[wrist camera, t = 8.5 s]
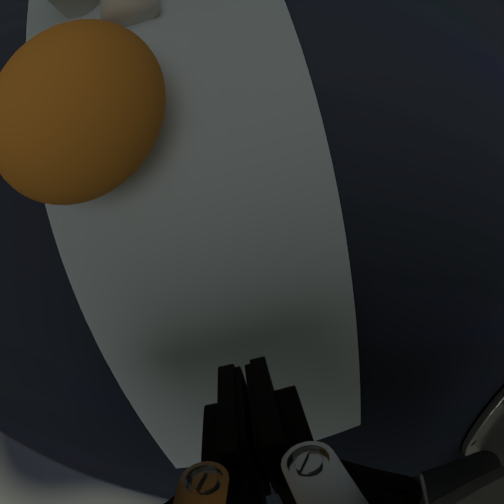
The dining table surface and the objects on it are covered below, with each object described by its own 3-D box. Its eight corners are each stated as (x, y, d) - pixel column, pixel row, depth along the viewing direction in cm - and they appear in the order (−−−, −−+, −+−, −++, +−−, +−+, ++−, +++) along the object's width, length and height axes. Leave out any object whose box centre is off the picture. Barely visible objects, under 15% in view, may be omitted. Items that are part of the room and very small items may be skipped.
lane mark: (359, 422, 16) (360, 424, 15) (176, 465, 15) (176, 468, 15) (242, -87, 7) (243, -89, 7) (34, -23, 7) (32, -25, 7)
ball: (124, -47, 4) (238, 96, 8) (67, 35, 8) (147, 122, 12) (-70, 104, 2) (110, 263, 6) (-36, 141, 6) (64, 229, 10)
